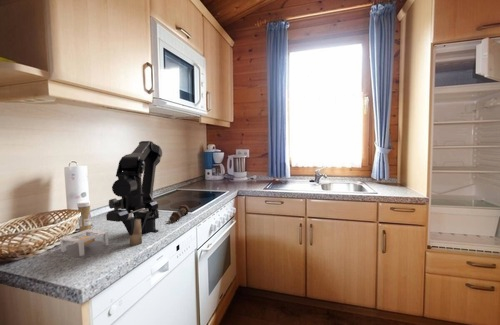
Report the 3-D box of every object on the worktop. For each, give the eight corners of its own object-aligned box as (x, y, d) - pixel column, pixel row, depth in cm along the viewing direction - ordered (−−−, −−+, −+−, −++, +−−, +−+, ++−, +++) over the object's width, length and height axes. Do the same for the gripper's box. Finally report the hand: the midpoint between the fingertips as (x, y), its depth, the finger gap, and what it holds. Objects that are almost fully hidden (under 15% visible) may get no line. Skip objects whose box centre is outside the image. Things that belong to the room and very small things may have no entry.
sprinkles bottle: (91, 233, 105) (88, 202, 104) (78, 235, 103) (75, 203, 102) (92, 230, 109) (91, 199, 108) (80, 231, 107) (78, 201, 106)
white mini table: (86, 241, 96) (85, 227, 96) (117, 246, 91) (116, 232, 90) (52, 254, 85) (51, 238, 85) (85, 261, 79) (84, 244, 79)
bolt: (170, 227, 118) (183, 216, 132) (179, 222, 117) (191, 212, 132) (164, 216, 117) (177, 207, 132) (173, 211, 117) (185, 202, 131)
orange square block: (86, 239, 90) (86, 235, 90) (94, 241, 89) (94, 236, 89) (75, 243, 86) (75, 239, 86) (83, 245, 85) (83, 241, 85)
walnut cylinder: (136, 241, 94) (135, 217, 93) (144, 242, 92) (143, 218, 92) (127, 245, 90) (126, 221, 89) (136, 246, 89) (134, 222, 88)
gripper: (136, 185, 101) (138, 223, 102) (93, 194, 84) (96, 239, 85) (158, 187, 97) (159, 226, 98) (117, 196, 80) (120, 244, 81)
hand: (135, 233), depth 91 cm, fingers closed on walnut cylinder, 4 cm apart
